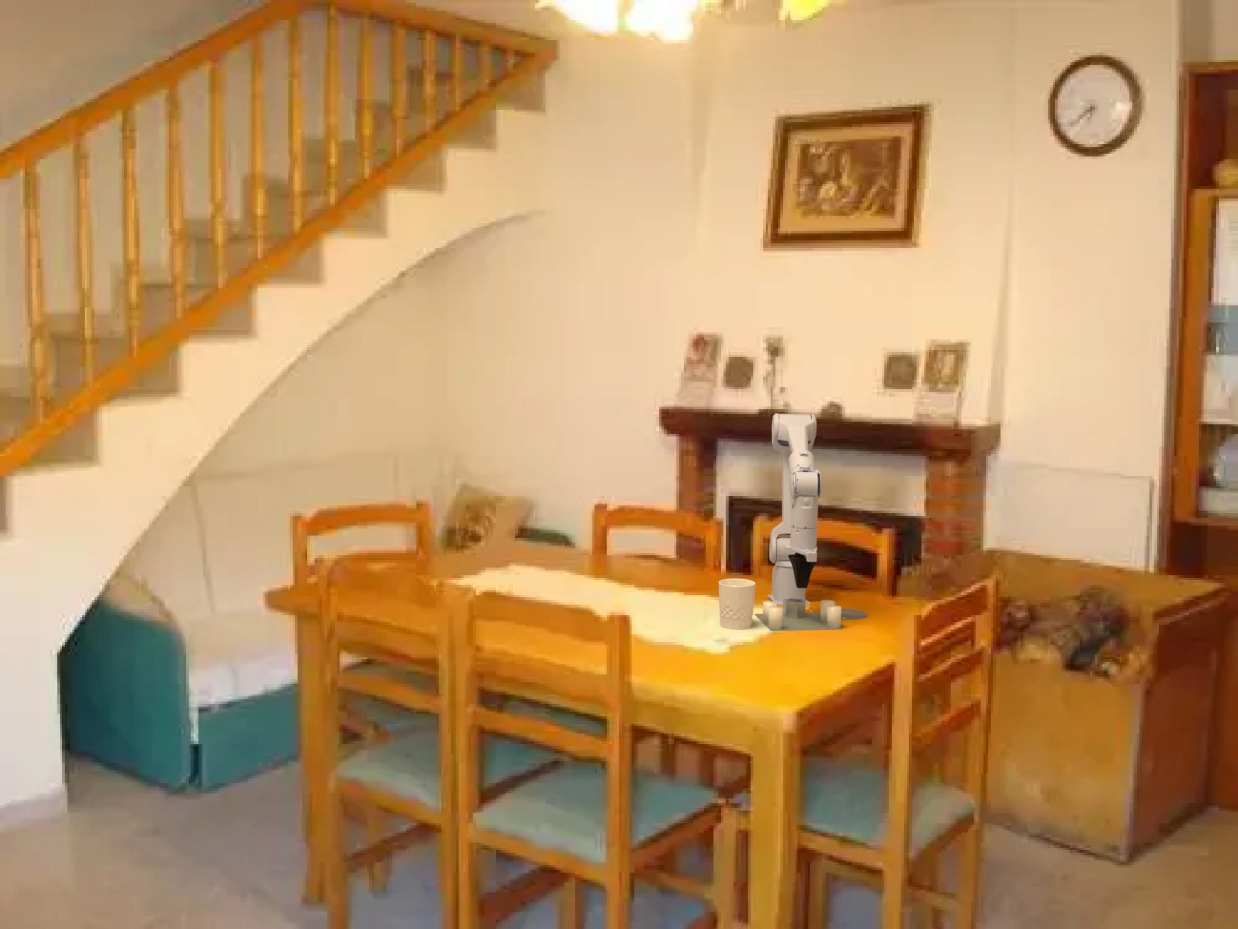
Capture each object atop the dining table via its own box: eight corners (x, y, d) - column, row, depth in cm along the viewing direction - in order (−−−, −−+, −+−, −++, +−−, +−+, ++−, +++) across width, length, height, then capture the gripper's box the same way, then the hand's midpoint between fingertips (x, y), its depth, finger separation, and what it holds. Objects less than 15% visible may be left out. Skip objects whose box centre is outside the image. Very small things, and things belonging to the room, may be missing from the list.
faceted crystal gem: (781, 613, 317) (781, 598, 317) (800, 613, 318) (800, 597, 317) (787, 619, 312) (787, 603, 312) (806, 618, 313) (807, 603, 312)
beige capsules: (761, 621, 310) (761, 601, 309) (831, 619, 312) (832, 599, 312) (770, 630, 302) (770, 609, 301) (842, 628, 304) (843, 608, 304)
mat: (753, 615, 316) (754, 613, 316) (822, 614, 319) (823, 612, 319) (770, 632, 302) (770, 630, 302) (843, 631, 304) (843, 629, 304)
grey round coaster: (821, 611, 321) (822, 609, 321) (860, 610, 323) (860, 608, 322) (833, 621, 312) (833, 618, 312) (872, 620, 314) (872, 617, 314)
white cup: (724, 633, 301) (726, 587, 299) (712, 624, 308) (713, 579, 307) (759, 631, 303) (760, 585, 301) (746, 622, 310) (747, 577, 309)
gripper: (777, 520, 313) (775, 580, 315) (795, 533, 299) (792, 595, 301) (808, 520, 314) (806, 580, 316) (827, 532, 300) (824, 595, 302)
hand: (801, 587), depth 309 cm, fingers closed
